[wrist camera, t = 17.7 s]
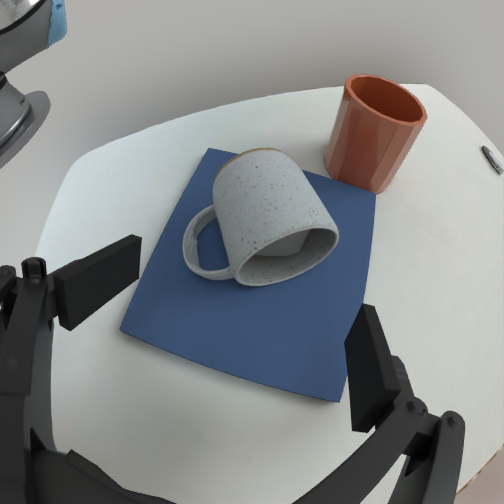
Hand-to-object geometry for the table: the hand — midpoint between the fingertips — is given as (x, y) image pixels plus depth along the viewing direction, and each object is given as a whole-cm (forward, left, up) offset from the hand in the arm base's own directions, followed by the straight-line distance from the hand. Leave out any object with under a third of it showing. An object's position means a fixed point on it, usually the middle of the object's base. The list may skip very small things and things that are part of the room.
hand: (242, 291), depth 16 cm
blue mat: (0, +5, -7) cm, 9 cm away
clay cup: (+7, +19, -7) cm, 22 cm away
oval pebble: (+32, +34, -7) cm, 48 cm away
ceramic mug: (-1, +6, -6) cm, 9 cm away
